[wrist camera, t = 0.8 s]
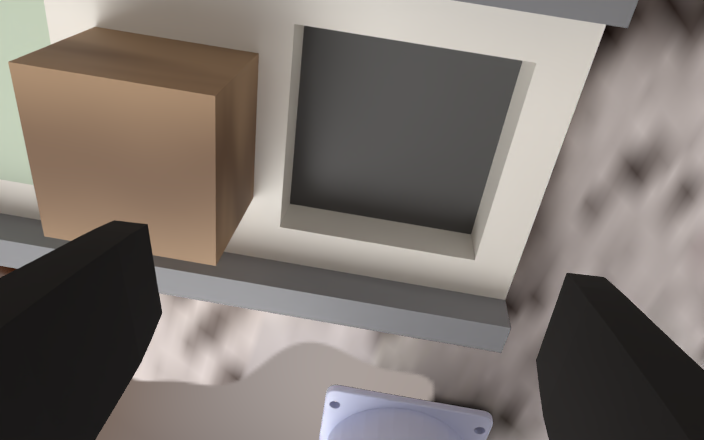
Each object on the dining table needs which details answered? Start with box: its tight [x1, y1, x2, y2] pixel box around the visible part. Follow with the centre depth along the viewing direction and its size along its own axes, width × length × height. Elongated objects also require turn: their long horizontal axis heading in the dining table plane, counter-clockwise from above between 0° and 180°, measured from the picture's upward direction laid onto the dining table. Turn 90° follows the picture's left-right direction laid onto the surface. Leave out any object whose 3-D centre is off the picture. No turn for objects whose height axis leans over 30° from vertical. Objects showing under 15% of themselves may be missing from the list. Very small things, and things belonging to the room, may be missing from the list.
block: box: [8, 27, 259, 266], centre depth 16 cm, size 5×5×4 cm
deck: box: [0, 0, 638, 353], centre depth 17 cm, size 14×24×4 cm, turn 83°
